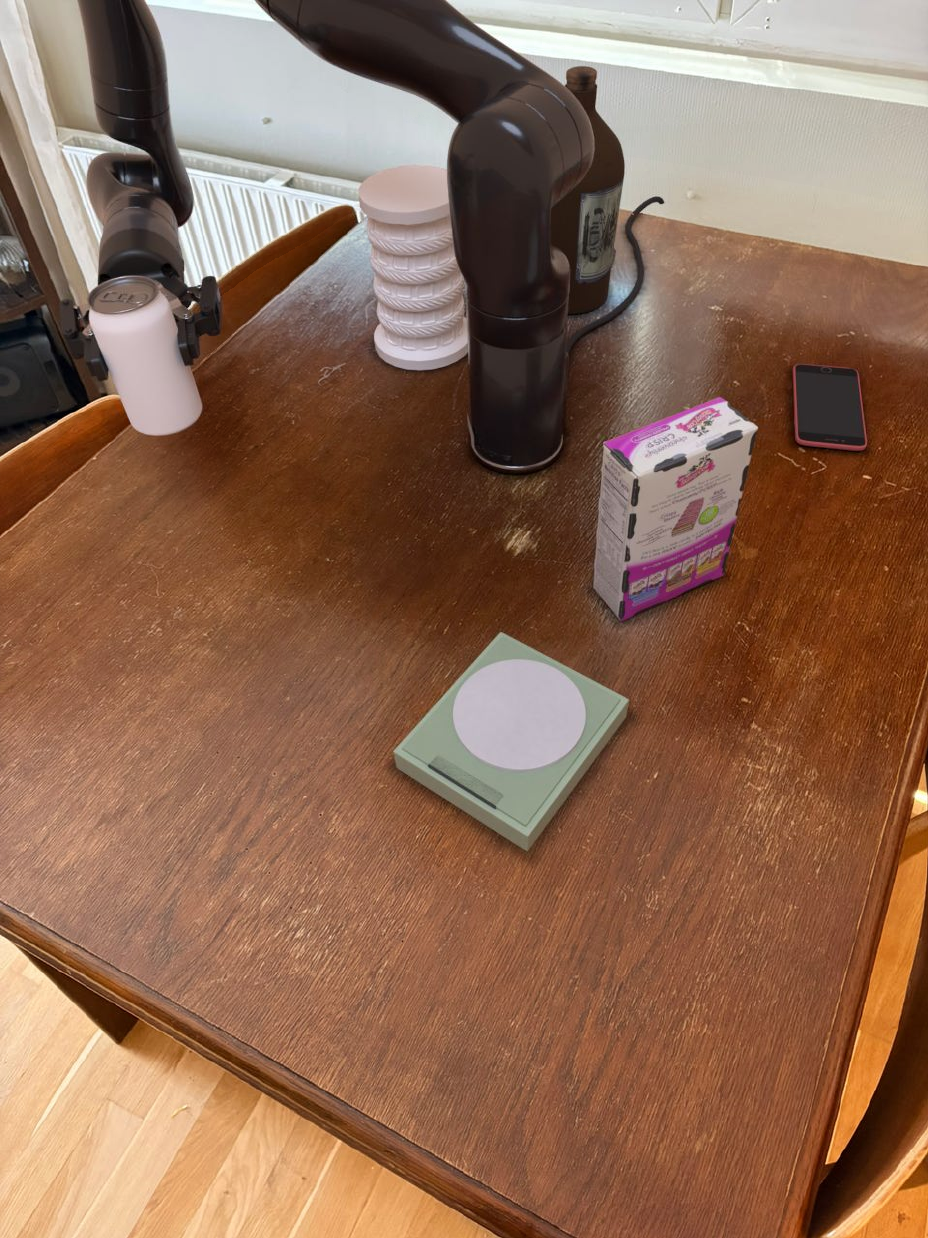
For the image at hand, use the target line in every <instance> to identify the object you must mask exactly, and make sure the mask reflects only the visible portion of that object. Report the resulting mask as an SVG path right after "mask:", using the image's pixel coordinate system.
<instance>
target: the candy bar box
mask: <svg viewBox="0 0 928 1238" xmlns="http://www.w3.org/2000/svg"><path fill="white" fill-rule="evenodd" d="M758 430H759V427H758V426H757V425H756V424H755V423H754V422H752V421H751V420H750V419H749V418H747V417H745V416H744V415H743V414H742V413H741V412H740V411H739V410H737V409H736V408H734V407H732V406H731V404H730V402H728V401H727V400H726V399H724V398H722V397H721V396H718V397H716V398H713V399H710V400H708V401H706V402H703V403H701V404H697V405H695V406H693V407H690V408H688V409H685V410H682V411H680V412H677V413H675V414H673V415H670V416H667V417H665V418H662V419H660V420H657V421H655V422H652V423H649V424H647V425H644V426H642V427H639V428H637V429H634V430H631V431H629V432H626V433H624V434H620V435H618V436H616V437H613V438H611V439H608V440H606V441H603V442H602V453H601V465H600V480H599V481H600V482H599V494H598V511H597V520H596V521H597V522H596V536H595V537H596V538H595V550H594V562H593V574H592V575H593V576H592V590H594V592H595V593H596V594H597V596H598V597H599V598H600V599H601V600H602V601H603V602H604V604H606V605H607V607H608V608H609V610H610V611H611V612H612V614H614V616H615V617H616V618H617V619H618V620H619V621H620V622H624V621H626V620H628V619H629V620H630V619H631V618H633V617H636V616H638V615H639V614H642V613H644V612H646V611H649V610H650V609H652V608H656V607H657V606H659V605H662V604H664V603H666V602H668V601H670V600H672V599H675V598H676V597H679V596H681V595H683V594H686V593H688V592H690V591H692V590H694V589H697V588H699V587H701V586H703V585H706V584H708V583H710V582H712V581H715V580H717V579H719V578H721V577H723V576H724V575H725V569H726V566H727V562H728V557H729V552H730V549H731V545H732V540H733V535H734V531H735V527H736V522H737V520H738V516H739V515H738V514H739V509H740V504H741V500H742V497H743V493H744V489H745V485H746V484H745V483H746V482H747V481H746V480H747V477H748V471H749V467H750V463H751V459H752V455H753V450H754V445H755V442H756V437H757V433H758Z"/></svg>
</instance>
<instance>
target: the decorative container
mask: <svg viewBox="0 0 928 1238" xmlns="http://www.w3.org/2000/svg"><path fill="white" fill-rule="evenodd" d="M357 190H358V191H357V193H358V194H357V195H358V196H357V197H358V203H359V208H360V209H361V211H362V213H363V214H365V215H366V216H367V220H366V226H365V232H366V236H367V238H368V241H369V242H370V244H371V249H370V253H369V262H370V265H371V268H372V271H374V277H373V283H372V284H373V291H374V293H375V296H376V298H377V303H376V304H377V305H376V315H377V318H378V319H377V320H378V322H379V323H378V324H377V326H376V328H375V330H374V333H373V341H374V348H375V351H376V353H377V355H378V357H379V358H380V359H382V360H383V361H384V362H385V363H387V364H389V365H390V366H393V367H396V368H400V369H403V370H409V371H428V370H429V371H430V370H435V369H439V368H443V367H447V366H450V365H452V364H454V363H456V362H458V361H460V360H461V359H463V358H464V357H465V356H466V355H468V337H467V317H465V313H466V302H465V300H464V296H463V290H464V287H465V281H464V278H463V276H462V274H461V272H460V270H459V268H458V265H457V262H456V258H455V254H454V247H453V237H452V227H451V218H450V208H449V198H448V187H447V168H444V167H440V166H434V165H426V164H411V165H410V164H409V165H408V164H407V165H400V166H395V167H390V168H386V169H383V170H381V171H378V172H376V173H374V174H372V175H369V176H368V177H367V178H366V179H365V180H363V181H362V182H361V183H360V185H359V187H358V189H357Z"/></svg>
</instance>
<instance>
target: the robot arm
mask: <svg viewBox="0 0 928 1238" xmlns="http://www.w3.org/2000/svg"><path fill="white" fill-rule="evenodd" d="M254 2H255V4H257V5H258V6H259V8H260V9H261V10H262V11H263V12H264V13H265V14H266V15H267V16H268V17H269V18H271V19H272V20H273V21H274V22H275V23H276V24H277V25H279V27H281V28H282V29H283V30H285V31H286V32H287V33H288V34H289V35H291V36H292V37H293V38H294V39H295V40H296V41H298V42H299V43H300V44H301V45H302V46H304V47H305V48H306V49H307V50H308V51H310V52H311V53H312V54H314V55H315V56H316V57H318V58H320V59H321V60H323V62H326V63H328V64H329V65H332V66H333V67H335V68H338V69H341V70H343V71H344V72H346V73H350V74H353V75H355V76H358V77H361V78H362V79H367V80H369V81H372V82H375V83H378V84H381V85H385V86H387V87H391V88H393V89H396V90H400V91H402V92H405V93H407V94H410V95H414V96H416V97H418V98H419V99H421V100H423V101H426V102H427V103H429V104H431V105H433V106H434V107H435V108H437V109H439V110H440V111H441V112H443V113H444V114H445V115H447V116H448V117H450V119H452V120H454V121H455V122H456V123H457V125H456V126H455V128H454V130H453V132H452V134H451V137H450V140H449V144H448V149H447V157H446V170H447V187H448V198H449V208H450V218H451V227H452V237H453V247H454V254H455V258H456V262H457V265H458V268H459V270H460V272H461V274H462V276H463V280H464V291H465V292H464V293H465V313H466V314H465V315H466V317H465V318H467V337H468V352H467V355H468V356H467V357H468V358H467V360H468V379H469V380H468V381H469V382H468V383H469V401H470V402H469V404H470V406H469V407H470V416H469V414H468V413H467V415H466V416H467V417H466V418H467V428H468V430H469V431H468V432H469V434H470V448H471V453H472V454H473V457H474V458H475V459H476V460H477V461H478V462H479V464H481V465H483V466H484V467H485V468H488V469H489V470H492V471H494V472H498V473H501V474H502V473H503V474H507V475H508V474H509V475H524V474H530V473H534V472H538V471H540V470H543V469H545V468H547V467H549V466H550V465H552V464H553V463H554V462H555V461H556V460H557V459H559V457H560V455H561V453H562V450H563V442H564V441H563V440H564V439H563V438H564V434H565V433H566V422H567V421H566V420H567V403H568V383H569V364H570V356H569V355H570V351H571V349H572V348H573V346H574V345H575V344H576V342H577V341H578V340H579V339H580V338H582V337H583V336H584V335H585V334H587V333H589V332H591V331H592V330H595V329H596V328H598V327H600V326H602V325H604V324H606V323H608V322H609V321H611V320H612V319H614V318H615V317H617V316H618V315H619V314H621V312H623V311H624V310H625V309H626V308H627V307H628V306H629V305H630V304H631V303H632V302H633V300H634V299H635V298H636V296H637V295H638V293H639V292H640V289H641V287H642V284H643V282H644V278H645V265H644V261H643V257H642V252H641V247H640V245H639V241H638V240H637V238H636V236H635V234H634V232H633V231H632V224H633V222H634V220H635V219H636V218H637V217H638V215H639V214H640V213H642V211H643V210H645V209H646V208H647V207H649V206H650V205H652V204H655V203H658V204H659V205H664V204H665V200H664V199H663V198H662V197H661V196H656V195H655V196H652V197H650V198H648V199H646V200H645V201H643V202H641V204H639V205H638V206H637V207H636V208H635V209H634V210H633V211H632V213H633V214H634V215H632V213H630V215H629V217H628V218H627V220H626V223H625V227H624V228H625V229H624V230H625V234H626V235H627V238H628V239H629V241H630V243H631V246H632V247H633V251H634V256H635V259H636V264H637V278H636V281H635V285H634V286H633V288H632V290H631V291H630V293H629V294H628V296H626V298H625V299H623V301H622V302H621V303H620V304H619V305H617V307H615V308H614V309H613V310H612V311H610V312H609V313H607V314H606V315H604V316H602V317H600V318H598V319H596V320H595V321H592V322H590V323H588V324H587V325H584V326H583V327H581V328H580V329H579V330H577V331H576V332H574V333H573V334H572V335H571V337H570V338H569V339H568V325H569V320H568V319H569V314H568V303H569V289H570V265H569V261H568V259H567V257H566V256H565V254H564V253H563V252H562V251H561V250H560V249H559V248H557V247H555V246H554V245H551V242H550V216H551V208H552V207H553V206H554V205H556V204H557V203H558V202H559V201H560V200H561V199H562V198H564V197H565V196H566V195H567V194H568V193H569V192H570V191H571V190H572V189H573V188H574V187H576V186H577V185H578V184H579V183H580V182H581V180H582V179H583V178H584V177H585V175H586V174H587V172H588V171H589V169H590V167H591V164H592V161H593V156H594V150H595V148H594V135H593V131H592V126H591V123H590V121H589V118H588V116H587V114H586V112H585V110H584V108H583V107H582V105H581V104H580V102H579V101H578V100H577V98H576V97H575V96H574V95H573V94H572V93H571V92H570V91H569V90H568V89H567V88H566V87H565V85H564V84H563V83H562V82H560V81H559V80H558V79H557V78H555V77H554V76H552V75H551V74H550V73H548V72H547V71H545V70H544V69H542V68H541V67H539V65H536V64H535V63H534V62H532V61H531V60H529V59H527V58H526V57H524V56H523V55H522V54H520V53H518V52H517V51H515V50H514V49H513V48H511V47H509V46H508V45H506V44H505V43H503V42H502V41H500V40H499V39H498V38H496V37H494V36H493V35H491V34H490V33H488V32H487V31H486V30H484V29H483V28H481V27H480V26H479V25H477V24H476V23H474V22H473V21H471V19H469V18H468V17H467V16H465V15H464V14H462V13H461V12H460V11H459V10H458V8H457V9H456V8H455V7H454V6H453V5H452V4H451V3H450V2H449V1H448V0H254ZM77 5H78V9H79V13H80V19H81V23H82V27H83V28H82V29H83V33H84V38H85V39H84V41H85V45H86V53H87V54H86V55H87V61H88V69H89V76H90V83H91V91H92V97H93V105H94V112H95V118H96V121H97V124H98V126H99V128H100V130H101V131H102V132H103V133H104V134H105V135H106V136H108V137H109V138H111V139H112V140H114V141H116V142H119V143H122V144H125V145H128V146H131V147H133V148H137V149H140V150H142V151H143V152H145V154H144V153H128V152H125V153H124V152H116V151H109V152H107V151H106V152H102V153H99V154H98V155H96V156H94V158H93V159H92V160H90V162H89V165H88V166H87V171H86V190H87V195H88V199H89V201H90V204H91V207H92V209H93V211H94V213H95V215H96V217H97V219H98V221H99V222H100V224H101V225H102V234H101V236H100V237H101V238H100V241H99V247H98V248H99V250H98V268H97V286H98V285H100V284H101V283H103V282H106V281H108V280H111V279H114V278H118V277H123V276H144V277H148V278H150V279H152V280H154V281H155V282H156V283H157V285H158V288H159V291H160V292H161V293H162V294H163V295H164V296H165V297H166V299H167V300H168V302H169V304H170V307H171V310H172V313H173V316H174V319H175V322H176V325H177V328H178V334H177V338H178V346H179V350H180V353H181V356H182V359H183V362H184V365H185V366H190V367H191V366H194V364H195V363H194V360H196V359H199V357H200V356H201V348H200V347H201V345H200V341H201V337H202V336H203V335H207V336H209V337H216V336H218V335H220V334H221V333H222V316H223V300H222V297H221V293H220V289H219V285H218V281H217V278H216V276H214V275H207V276H204V277H203V278H202V280H201V284H198V285H195V286H189V285H187V283H186V282H185V281H186V280H185V270H186V269H185V260H184V256H183V250H182V247H181V244H180V236H179V228H181V227H184V226H185V225H186V223H187V222H188V221H190V219H191V217H192V214H193V212H194V206H195V199H194V196H195V195H194V190H193V186H192V183H191V180H190V176H189V174H188V171H187V168H186V166H185V163H184V160H183V158H182V155H181V153H180V150H179V147H178V146H179V145H178V144H177V140H176V136H175V133H174V127H173V123H172V115H171V106H170V92H169V91H170V90H169V78H168V77H169V76H168V64H167V55H166V50H165V44H164V41H163V38H162V35H161V31H160V29H159V26H158V23H157V21H156V19H155V17H154V15H153V12H152V11H151V9H150V7H149V5H148V3H147V2H146V0H77ZM146 153H147V154H146ZM192 302H194V303H196V304H197V306H198V307H199V311H198V312H195V313H193V311H192V310H190V309H189V308H190V307H191V305H192ZM58 311H59V323H60V333H61V335H62V337H63V340H64V342H65V344H66V346H67V349H68V351H69V353H70V356H71V359H73V360H81V359H83V361H84V364H85V366H86V368H87V370H88V373H89V375H90V376H91V377H96V378H97V380H98V382H104V381H108V380H109V370H108V367H107V365H106V362H105V360H104V357H103V355H102V352H101V350H100V348H99V345H98V343H97V340H96V338H95V335H94V333H93V330H92V327H91V325H90V321H89V311H90V307H89V305H88V303H85V304H81V305H77V304H75V303H74V301H73V300H72V299H71V298H66V299H63V300H61V301H60V302H58Z"/></svg>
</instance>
